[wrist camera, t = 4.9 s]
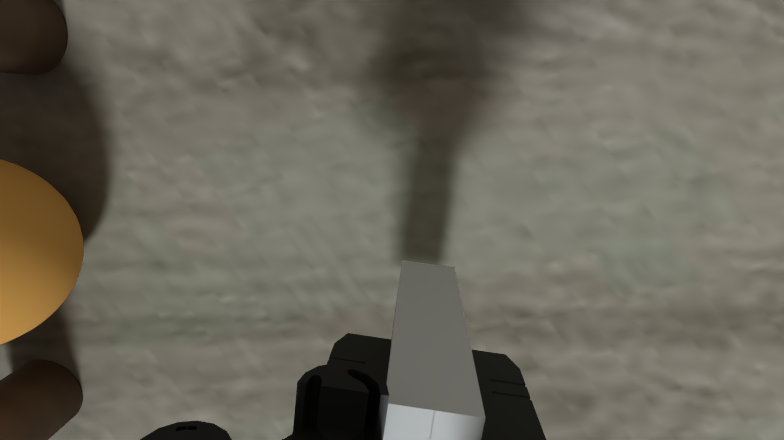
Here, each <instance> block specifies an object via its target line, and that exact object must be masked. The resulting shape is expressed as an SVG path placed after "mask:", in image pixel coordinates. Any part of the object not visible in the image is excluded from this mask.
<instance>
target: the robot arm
mask: <svg viewBox="0 0 784 440" xmlns="http://www.w3.org/2000/svg"><path fill="white" fill-rule="evenodd" d="M140 440H232V439H231V438H230V436H229V434H228V433H227V431H225V430H223V429H222V428H220V427H218V426H217V425H215V424H212V423H206V422H201V421H188V422H177V423H174V424H171V425H168V426H165V427H162V428H158V429H157V430H155V431H153V432H152V433H150V434H148V435H147V436H145V437H144V438H142V439H140ZM282 440H546V438H545V435H544V433H543V430H542V427H541V425H540V422H539V419H538V417H537V414H536V411H535V409H534V406H533V403H532V401H531V400H530V395H529V393H528V390H527V387H525V382H524V379H523V377H522V374H521V371H520V369H519V368H518V367H517V366H516V365H515V364H514V363H513V362H512V361H511V360H510V359H509V358H508V357H507V356H506V355H505V354H498V353H491V352H484V351H478V350H471V345H470V340H469V335H468V330H467V325H466V321H465V316H464V311H463V306H462V301H461V296H460V291H459V287H458V282H457V277H456V272H455V267H449V266H442V265H435V264H428V263H421V262H414V261H407V260H402V265H401V273H400V280H399V287H398V294H397V301H396V308H395V315H394V323H393V330H392V337H391V339H384V338H377V337H370V336H363V335H357V334H350V333H348V334H346V335H345V336H344V337H342V338H341V339H340V340H338V341H337V342H336V343H334V346H333V349H332V352H331V354H330V357H329V360H328V362H327V365H322V366H318V367H316V368H314V369H312V370H310V371H308V372H306V373H305V374H304V375H303V376H302V377H301V379H300V380H299V381H298V382H297V394H296V405H295V416H294V428H293V433H292V435H290V436H288V437H287V438H285V439H282Z"/></svg>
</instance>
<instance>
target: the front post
mask: <svg viewBox="0 0 784 440" xmlns="http://www.w3.org/2000/svg"><path fill="white" fill-rule="evenodd" d="M66 44H67V30H66V25H65V21H64V18H63V16H62V14H61V12H60V10H59V8H58V6H57V5H56V4H55V2H54V1H53V0H0V72H7V73H19V74H33V75H34V74H41V73H45V72H47V71H49V70H51V69H52V68H54V67H55V66H56V65H57V64H58V63H59V62H60V60H61V58H62V57H63V54H64V52H65V49H66Z"/></svg>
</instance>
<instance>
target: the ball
mask: <svg viewBox="0 0 784 440" xmlns="http://www.w3.org/2000/svg"><path fill="white" fill-rule="evenodd" d="M83 253H84V244H83V236H82V232H81V228H80V224H79V222H78V219H77V217H76V215H75V213H74V212H73V210H72V208H71V207H70V205H69V203H68V202H67V201H66V200H65V198H64V197H63V196H62V195H61V194H60V193H59V192H58V191H57V190H56V189H55V188H54V187H53V186H52V185H50V184H49V183H48V182H47V181H45V180H44V179H42V178H41V177H40V176H38V175H36V174H35V173H33V172H31V171H29V170H27V169H25V168H23V167H21V166H19V165H16V164H13V163H10V162H8V161H5V160H2V159H0V344H3V343H6V342H8V341H10V340H13V339H15V338H17V337H19V336H21V335H23V334H25V333H27V332H28V331H30V330H32V329H34V328H35V327H36V326H38V325H39V324H41V323H42V322H43V321H45V320H46V319H47V318H48V317H49V316H51V315H52V314H53V313H54V312H55V311H56V310H57V309H58V308H59V307H60V305H61V304H62V303H63V302H64V300H65V299H66V298H67V297H68V295H69V294H70V292H71V291H72V289H73V287H74V285H75V283H76V281H77V278H78V276H79V273H80V270H81V266H82V261H83Z"/></svg>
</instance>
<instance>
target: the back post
mask: <svg viewBox="0 0 784 440" xmlns="http://www.w3.org/2000/svg"><path fill="white" fill-rule="evenodd" d="M81 405H82V392H81V388H80V386H79V384H78V382H77V380H76V379H75V377H74V376H73V375H72V374H71V373H70V372H69V371H68V370H66V369H65V368H64V367H62V366H60V365H58V364H56V363H53V362H50V361H44V360H37V361H32V362H29V363H27V364H25V365H23V366H22V367H20V368H19V369H17V370H16V371H14V372H13V373H11V374H10V375H8V376H6V377H5V378H3V379H2V380H0V440H48V439H49V438H50V437H52V436H53V435H54V434H55V433H56V432H57V431H58V430H59V429H60V428H62V427H63V426H64V425H65V424H66V423H67V422H68V421H69V420H71V419H72V418H73V417H74V416H75V415H76V414H77V413H78V411H79V410H80V408H81Z"/></svg>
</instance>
